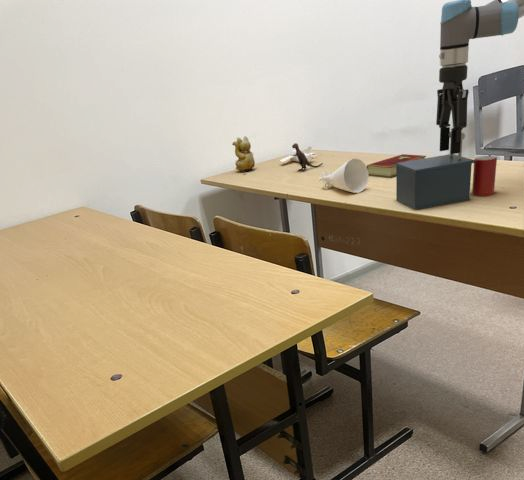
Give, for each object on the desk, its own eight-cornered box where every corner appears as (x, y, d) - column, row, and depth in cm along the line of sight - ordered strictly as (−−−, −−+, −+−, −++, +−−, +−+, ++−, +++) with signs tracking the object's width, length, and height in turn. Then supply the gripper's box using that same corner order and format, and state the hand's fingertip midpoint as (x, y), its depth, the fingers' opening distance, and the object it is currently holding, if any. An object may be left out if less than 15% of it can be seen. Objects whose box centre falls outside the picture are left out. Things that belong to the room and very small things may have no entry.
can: (487, 189, 169) (490, 154, 163) (497, 194, 163) (501, 157, 158) (468, 192, 168) (470, 157, 163) (477, 197, 163) (480, 161, 158)
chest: (447, 191, 173) (448, 156, 168) (469, 200, 161) (471, 163, 156) (396, 200, 171) (396, 165, 166) (414, 209, 159) (415, 173, 154)
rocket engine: (317, 160, 196) (350, 151, 181) (339, 175, 203) (372, 168, 188) (307, 188, 196) (339, 182, 181) (329, 203, 202) (362, 198, 187)
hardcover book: (366, 175, 209) (366, 164, 206) (402, 164, 219) (402, 153, 217) (390, 177, 200) (390, 166, 198) (425, 166, 210) (426, 154, 208)
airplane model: (307, 156, 262) (305, 140, 258) (330, 159, 246) (329, 142, 243) (272, 164, 254) (270, 148, 250) (294, 168, 239) (293, 151, 235)
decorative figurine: (247, 168, 254) (243, 134, 247) (260, 168, 249) (256, 134, 242) (233, 172, 248) (228, 138, 241) (246, 173, 243) (241, 138, 236)
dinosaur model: (290, 143, 226) (319, 139, 232) (291, 171, 232) (319, 167, 238) (295, 144, 223) (324, 140, 229) (295, 173, 229) (324, 168, 235)
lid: (451, 156, 168) (453, 128, 164) (474, 162, 156) (477, 132, 152) (396, 165, 166) (396, 137, 162) (415, 172, 154) (416, 142, 150)
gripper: (425, 68, 157) (423, 149, 168) (458, 67, 140) (454, 158, 151) (449, 64, 158) (445, 146, 169) (484, 63, 141) (478, 153, 152)
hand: (449, 151), depth 160 cm, fingers closed on lid, 6 cm apart
